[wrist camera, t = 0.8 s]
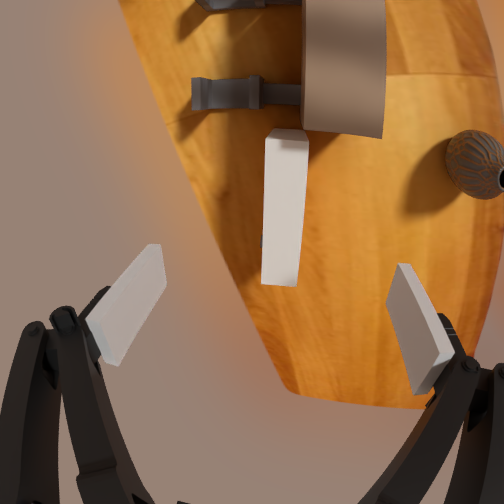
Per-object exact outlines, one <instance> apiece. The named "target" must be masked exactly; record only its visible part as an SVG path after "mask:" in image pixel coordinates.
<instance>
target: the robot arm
mask: <svg viewBox="0 0 504 504" xmlns="http://www.w3.org/2000/svg"><path fill="white" fill-rule="evenodd" d="M166 286H167V281H166V276H165V269H164V263H163V257H162V250H161V245H159V244H148V245H147V246H146V247H145V249H144V250H143V251H142V252H141V253H140V254H139V255H138V257H136V259H135V260H134V261H133V262H132V263H131V264H130V265H129V267H128V268H127V269H126V270H125V271H124V272H123V274H122V275H121V276H120V277H119V278H118V280H117V281H116V282H115V283H114V284H113V285H112V286H106V287H105V288H103V289H102V290H100V291H99V292H98V293H97V294H96V295H95V297H94V299H92V300H91V301H90V304H88V305H87V306H86V307H85V309H84V310H83V311H82V312H81V313H80V315H79V316H78V317H77V314H76V312H75V310H74V308H73V307H71V306H62V307H59V308H57V309H56V310H54V311H53V312H52V313H51V315H50V318H49V320H50V322H51V324H52V326H53V328H54V329H51V330H50V329H49V330H48V329H46V328H45V326H44V324H43V323H42V322H40V321H35V322H31V323H29V324H28V325H27V326H26V327H25V328H24V330H23V332H22V335H21V338H20V340H19V343H18V347H17V350H16V353H15V356H14V360H13V363H12V366H11V370H10V374H9V378H8V382H7V386H6V390H5V394H4V399H3V403H2V408H1V414H0V504H60V501H59V478H58V435H59V416H60V404H61V394H62V396H63V402H64V408H65V414H66V419H67V424H68V428H69V433H70V437H71V442H72V445H73V450H74V453H75V457H76V461H77V464H78V467H79V475H78V476H77V477H76V481H77V486H78V489H79V492H80V495H81V498H82V501H83V503H84V504H155V503H154V501H153V500H152V498H151V496H150V494H149V493H148V492H147V490H146V489H145V487H144V486H143V484H142V482H141V480H140V478H139V476H138V474H137V471H136V469H135V467H134V464H133V462H132V460H131V458H130V455H129V453H128V450H127V448H126V445H125V442H124V440H123V437H122V435H121V432H120V429H119V426H118V424H117V421H116V418H115V415H114V412H113V409H112V406H111V403H110V399H109V396H108V393H107V390H106V386H105V383H104V379H103V375H102V372H101V368H100V364H99V362H98V358H99V357H100V355H102V357H103V359H104V361H105V363H108V364H112V365H115V366H119V365H120V363H121V361H122V359H123V358H124V356H125V354H126V352H127V351H128V349H129V347H130V345H131V344H132V342H133V340H134V338H135V337H136V335H137V333H138V332H139V330H140V328H141V327H142V325H143V323H144V322H145V320H146V318H147V317H148V315H149V313H150V312H151V310H152V309H153V307H154V305H155V304H156V302H157V300H158V299H159V297H160V296H161V294H162V292H163V291H164V289H165V288H166ZM386 306H387V309H388V311H389V314H390V317H391V320H392V323H393V326H394V330H395V333H396V336H397V339H398V342H399V346H400V349H401V352H402V356H403V359H404V363H405V366H406V370H407V373H408V377H409V381H410V385H411V389H412V393H413V395H421V394H428V392H429V391H430V390H431V388H432V387H434V390H435V394H434V395H433V396H432V398H431V399H430V400H429V401H428V403H427V404H426V405H425V406H426V409H425V411H424V412H423V414H422V416H421V418H420V419H419V421H418V423H417V424H416V426H415V427H414V429H413V431H412V432H411V434H410V435H409V437H408V438H407V440H406V442H405V443H404V445H403V446H402V448H401V449H400V450H399V452H398V453H397V455H396V456H395V457H394V459H393V460H392V462H391V463H390V464H389V466H388V467H387V468H386V470H385V471H384V472H383V474H382V475H381V476H380V478H379V479H378V480H377V481H376V483H375V484H374V485H373V486H372V488H371V489H370V490H369V491H368V492H367V494H366V495H365V496H364V497H363V498H362V499H361V500H360V501H359V503H358V504H419V503H420V501H421V500H422V498H423V497H424V495H425V494H426V492H427V491H428V489H429V487H430V486H431V484H432V482H433V481H434V479H435V477H436V476H437V474H438V472H439V470H440V468H441V467H442V465H443V463H444V461H445V459H446V457H447V455H448V453H449V451H450V449H451V447H452V445H453V443H454V441H455V439H456V437H457V434H458V432H459V430H460V428H461V425H462V423H463V421H464V424H463V429H462V435H461V440H460V446H459V450H458V454H457V459H456V463H455V467H454V471H453V475H452V478H451V482H450V486H449V489H448V492H447V495H446V498H445V501H444V504H504V363H498V364H497V365H496V366H495V367H494V369H493V370H489V369H484V368H481V367H480V364H479V363H478V362H477V360H475V359H474V358H473V357H470V356H466V353H465V351H464V349H463V347H462V345H461V343H460V340H459V338H458V336H457V335H456V332H455V330H454V329H453V326H452V324H451V322H450V320H449V319H448V318H447V317H446V316H445V315H444V314H443V313H436V311H435V309H434V307H433V305H432V303H431V301H430V299H429V297H428V295H427V294H426V292H425V290H424V288H423V286H422V284H421V282H420V281H419V279H418V277H417V275H416V274H415V272H414V270H413V268H412V267H411V265H410V264H405V263H398V264H397V268H396V271H395V275H394V278H393V281H392V285H391V288H390V291H389V294H388V297H387V300H386ZM177 504H188V503H185V502H181V501H178V502H177Z"/></svg>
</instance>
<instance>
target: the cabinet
mask: <svg viewBox="0 0 504 504" xmlns="http://www.w3.org/2000/svg"><path fill="white" fill-rule="evenodd" d="M195 1H196V2H197V3H198V4H199V5H201V6H202V7H203V8H204V9H205V10H206V11H216V10H228V9H245V8H265V4H290V5H302V65H301V85H292V84H268V83H264V80H265V79H263V78H262V77H261V76H260V75H250V79H220V80H210V79H206V78H202V77H197V78H191V83H192V110H205V109H217V108H249V109H263V108H264V104H287V105H300V122H301V124H302V127H303V129H304V130H313V131H324V132H334V133H343V134H351V135H358V136H365V137H372V138H378V139H382V133H383V121H384V108H385V90H386V13H385V0H195Z"/></svg>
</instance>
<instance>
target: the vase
mask: <svg viewBox="0 0 504 504" xmlns="http://www.w3.org/2000/svg"><path fill="white" fill-rule="evenodd" d="M445 162H446V167H447V171H448V173H449V176H450V177H451V179H452V181H453V182H454V184H455V185H456V186H457V187H458V188H459V189H460V190H461V191H463V192H464V193H465V194H467V195H469V196H471V197H473V198H477V199H483V200H487V199H492V198H495V197H497V196H498V195H500V194H501V193H503V192H504V148H503V147H502V145H501V144H500V143H499V142H498V141H497V140H496V139H495V138H493V137H492V136H490V135H489V134H487V133H485V132H482V131H477V130H466V131H463V132H460V133H458V134H457V135H455V136H454V137H453V138H452V139H451V141H450V142H449V144H448V146H447V149H446V155H445Z"/></svg>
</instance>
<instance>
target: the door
mask: <svg viewBox="0 0 504 504" xmlns="http://www.w3.org/2000/svg"><path fill="white" fill-rule="evenodd" d="M308 153H309V140H308V138H307V135H306V133H305V130H296V129H279V128H274V129H273V130H272V131H271V133H270V134H269V135H268V136H267V138H266V139H265V177H264V213H263V235H261V242H260V247H261V248H262V274H261V284H268V285H280V286H293V287H296V285H297V277H298V268H299V259H300V249H301V239H302V229H303V218H304V207H305V195H306V182H307V168H308Z"/></svg>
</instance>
